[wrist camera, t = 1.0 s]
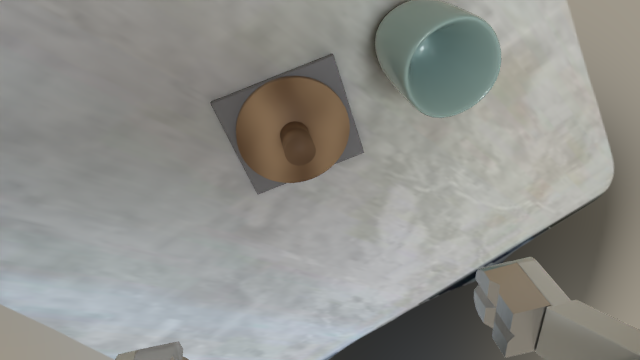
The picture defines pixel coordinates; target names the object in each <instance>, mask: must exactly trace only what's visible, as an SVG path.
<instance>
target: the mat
mask: <svg viewBox="0 0 640 360" xmlns="http://www.w3.org/2000/svg"><path fill="white" fill-rule="evenodd" d="M285 76H305V77H310V78H313V79H316V80H318V81H320V82H322V83H324V84H326V85H327V86H328V87H330V88H331V89H332V90H333V91H334V92H335V93H336V94H337V95H338V97H339V98H340V100H341V101H342V103H343V105H344V106H345V108H346V111H347V113H348V117H349V123H350V132H349V138H348V142H347V145H346V147H345V149H344V151H343V153H342V155H341V156H340V158H339V159H338V160H337V161H336V163H339V162H341V161H344V160H346V159H349V158H351V157H354V156H356V155H359V154H361V153H364V151H363V148H362V145H361V142H360V139H359V135H358V132H357V129H356V126H355V123H354V119H353V116H352V113H351V110H350V107H349V103H348V100H347V97H346V94H345V91H344V87H343V84H342V81H341V78H340V75H339V71H338V68H337V65H336V62H335V59H334V55H333V54H330V55H327V56H325V57H322V58H320V59H317V60H315V61H312V62H310V63H307V64H305V65H302V66H300V67H297V68H295V69H292V70H290V71H287V72H285V73H282V74H280V75H277V76H275V77H272V78H270V79H267V80H265V81H262V82H260V83H257V84H255V85H252V86H250V87H247V88H245V89H242V90H239V91H237V92H234V93H232V94H229V95H227V96H224V97H222V98H219V99H217V100H214V101H212V102H211V106H212V108H213V109H214V111H215V113H216V115H217V117H218V119H219V121H220V123H221V125H222V127H223V129H224V131H225V133H226V134H227V136H228V138H229V140H230V142H231V144H232V146H233V148H234V150H235V152H236V154H237V156H238V157H239V159H240V161H241V163H242V165H243V167H244V169H245V171H246V173H247V175H248V177H249V179H250V181H251V182H252V184H253V186H254V188H255V190H256V192H257V194H260V193H263V192H265V191H268V190H270V189H273V188H275V187H278V186H280V185H283V184H286V183H283V182H276V181H272V180H269V179H267V178H264V177H263V176H261V175H259V174H257V173H256V172H255V171H253V170H252V169H251V168H250V167H249V166H248V165H247V163H246V162H245V161H244V159H243V158H242V156H241V154H240V151H239V149H238V145H237V138H236V122H237V117H238V114H239V112H240V109H241V107H242V105H243V104H244V102H245V101H246V99H247V98H248V97H249V96H250V95H251V94H252V93H253V92H254V91H255V90H256V89H257V88H259V87H260V86H262V85H263V84H265V83H267V82H269V81H271V80H274V79H277V78H280V77H285ZM336 163H335V164H336Z"/></svg>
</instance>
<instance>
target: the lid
mask: <svg viewBox="0 0 640 360" xmlns="http://www.w3.org/2000/svg"><path fill="white" fill-rule="evenodd" d="M349 132H350V123H349V117H348V113H347V111H346V108H345V106H344V105H343V103H342V101H341V100H340V98H339V97H338V95H337V94H336V93H335V92H334V91H333V90H332V89H331V88H330V87H328V86H327V85H326V84H324V83H322V82H320V81H318V80H316V79H313V78H310V77H305V76H285V77H280V78H277V79H274V80H271V81H269V82H267V83H265V84H263V85H262V86H260V87H259V88H257V89H256V90H255V91H254V92H253V93H252V94H251V95H250V96H249V97H248V98H247V99H246V101H245V102H244V104H243V105H242V107H241V109H240V112H239V114H238V117H237V122H236V138H237V145H238V149H239V151H240V154H241V156H242V158H243V159H244V161H245V162H246V163H247V165H248V166H249V167H250V168H251V169H252V170H253V171H255V172H256V173H257V174H259V175H261V176H263V177H264V178H267V179H269V180H272V181H276V182H283V183H295V182H302V181H306V180H309V179H312V178H314V177H317V176H319V175H320V174H322V173H324V172H325V171H327V170H328V169H329V168H331V167H332V166H333V165H334V164H335V163H336V161H337V160H338V159H339V158H340V156H341V155H342V153H343V151H344V149H345V147H346V145H347V142H348V138H349Z"/></svg>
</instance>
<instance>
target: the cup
mask: <svg viewBox="0 0 640 360" xmlns="http://www.w3.org/2000/svg"><path fill="white" fill-rule="evenodd" d="M375 51H376V56H377V59H378V62H379V64H380V67H381V69H382V70H383V72H384V74H385V75H386V77H387V78H388V80H389V81H390V82H391V84H392V85H393V86H394V87H395V88H396V89H397V90H398V91H399V92H400V93H401V94H402V96H403V97H404V98H405V99H406V100H407V101H408V102H409V103H410V104H411V105H412V106H413V107H414V108H416V109H417V110H418V111H420V112H421V113H423V114H425V115H427V116H430V117H434V118H444V117H450V116H453V115H456V114H459V113H462V112H464V111H465V110H467V109H469V108H471V107H472V106H474V105H475V104H477V103H478V102H479V101H480V100H481V99H482V98H483V97H485V95H486V94H487V93H488V92H489V91H490V89H491V88H492V86H493V85H494V83H495V81H496V79H497V77H498V74H499V71H500V65H501V49H500V44H499V40H498V38H497V36H496V33H495V32H494V30H493V29H492V27H491V26H490V25H489V24H488V23H487V22H486V21H485V20H483V19H482V18H481V17H479V16H477V15H475V14H473V13H470V12H468V11H466V10H464V9H462V8H459V7H457V6H455V5H452V4H450V3H447V2H444V1H440V0H410V1H407V2H405V3H403V4H401V5H399V6H397V7H395V8H394V9H393V10H391V11H390V12H389V13H388V14H387V15H386V16H385V17H384V19H383V20H382V22H381V23H380V25H379V27H378V29H377V32H376V36H375Z"/></svg>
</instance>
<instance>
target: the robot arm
mask: <svg viewBox="0 0 640 360" xmlns="http://www.w3.org/2000/svg"><path fill="white" fill-rule="evenodd" d="M476 280H477V282H478V283H479V285H478V286H477V287H476V289H475V290H474V301H475V305H476V309H477V311H478V314H479V316H480V317H481V319H482V321H483V323H484V324H486V325H488V326H490V327H491V328H493V333H492V338H493V339H494V341H495V342H496V344H497V346H498V347H499V349H500V351H501V352H502V354H503V355H504V357H505V358H506V357H511V356H515V355H520V354H524V353H528V352H533V351H536V352H535V353H537V354H538V355H539V356H541V357H542V358H544V359H545V360H640V330H639V329H637V328H635V327H633V326H631V325H629V324H626V323H624V322H622V321H620V320H618V319H616V318H614V317H612V316H610V315H607V314H605V313H603V312H601V311H599V310H597V309H595V308H592V307H591V306H588V305H586V304H584V303H582V302H580V301H578V300H574V301H571V300H570V299H569V298H568V297H567V296H566V294H565V293H564V292H563V291H562V290H561V289H560V287H559V286H558V285H557V284H556V283H555V282H554V280H553V279H552V278H551V277H550V276H549V275H548V274H547V272H546V271H545V270H544V269H543V268H542V267H541V265H540V264H539V263H538V262H537V261H536V260H535V259H534V258H532V257H527V258H523V259H519V260H515V261H509V262H505V263H501V264H497V265H493V266H489V267H485V268H481V269H478V271H477V272H476ZM115 360H189V359H187V358H185V357H183V348H182V346H181V344H180V343H179V341H178V342H173V343H168V344H164V345H159V346H154V347H149V348H145V349H140V350H135V351H131V352H127V353H122V354H118V356H117V357H116V359H115Z"/></svg>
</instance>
